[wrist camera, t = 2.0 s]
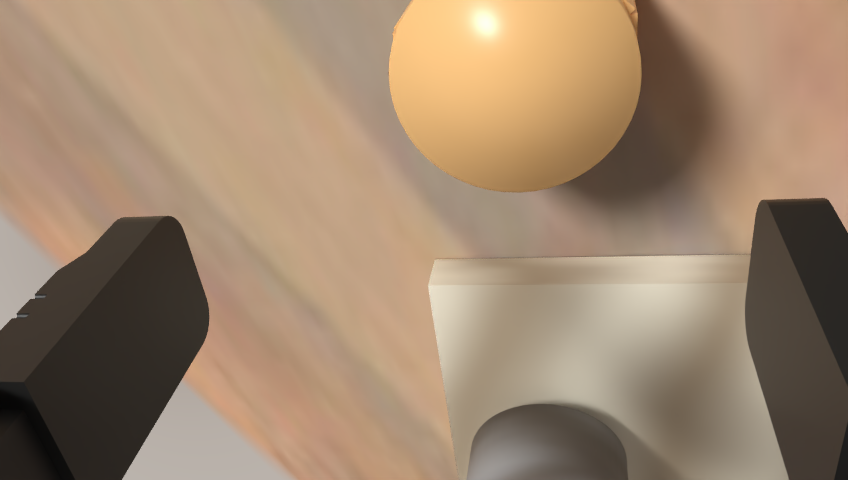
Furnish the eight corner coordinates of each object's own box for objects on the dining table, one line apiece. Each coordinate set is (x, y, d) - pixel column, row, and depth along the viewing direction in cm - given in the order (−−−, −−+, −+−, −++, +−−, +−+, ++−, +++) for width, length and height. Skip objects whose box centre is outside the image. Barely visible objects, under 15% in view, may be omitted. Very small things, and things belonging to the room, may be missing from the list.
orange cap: (629, -106, 19) (644, -62, 15) (628, 103, 22) (639, 188, 18) (412, -82, 20) (370, -35, 16) (438, 113, 23) (407, 196, 19)
